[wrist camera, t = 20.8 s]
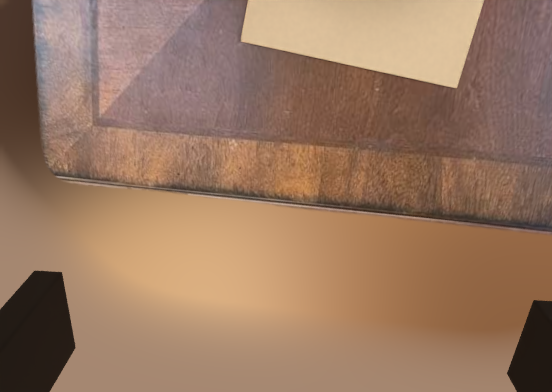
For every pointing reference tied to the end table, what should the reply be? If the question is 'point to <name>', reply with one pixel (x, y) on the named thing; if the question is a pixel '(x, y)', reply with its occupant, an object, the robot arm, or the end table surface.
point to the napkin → (371, 33)
